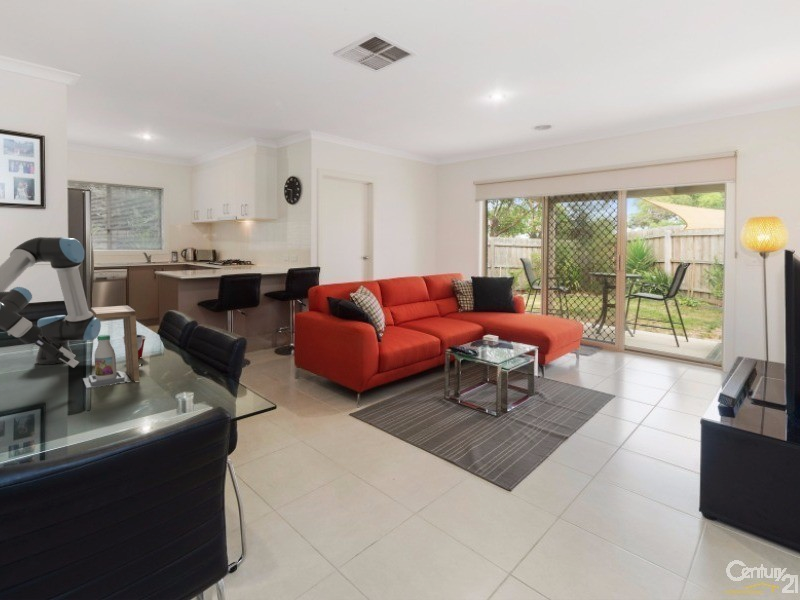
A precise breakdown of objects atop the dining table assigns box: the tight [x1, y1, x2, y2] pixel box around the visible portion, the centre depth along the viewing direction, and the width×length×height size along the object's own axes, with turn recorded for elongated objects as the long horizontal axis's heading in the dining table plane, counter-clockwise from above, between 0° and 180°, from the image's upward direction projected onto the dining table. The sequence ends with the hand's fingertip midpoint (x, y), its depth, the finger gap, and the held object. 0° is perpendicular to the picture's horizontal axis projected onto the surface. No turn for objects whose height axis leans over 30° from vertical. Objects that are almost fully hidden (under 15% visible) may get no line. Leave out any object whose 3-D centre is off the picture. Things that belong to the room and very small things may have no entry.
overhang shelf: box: [90, 305, 140, 382], centre depth 193 cm, size 20×14×32 cm
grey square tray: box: [82, 370, 132, 390], centre depth 193 cm, size 16×16×2 cm
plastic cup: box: [122, 334, 147, 359], centre depth 229 cm, size 11×11×12 cm
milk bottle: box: [94, 334, 117, 381], centre depth 191 cm, size 8×8×20 cm
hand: (75, 361), depth 184 cm, fingers open, 13 cm apart
